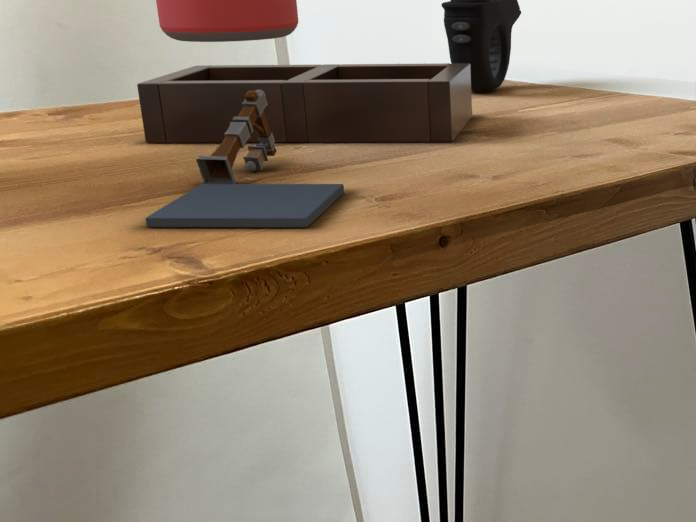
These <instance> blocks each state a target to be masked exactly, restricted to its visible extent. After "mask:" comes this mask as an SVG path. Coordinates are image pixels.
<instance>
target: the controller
mask: <svg viewBox="0 0 696 522" xmlns="http://www.w3.org/2000/svg"><path fill="white" fill-rule="evenodd" d="M440 6H441V8H442V9H443V10H444V13H443V25H444V31H445V35H446V39H447V45H448V46H447V47H448V53H449V59H450V64H452V63H470V70H471V92H482V93H483V92H486V93H487V92H493V91H495V90H497V89H498V88H500V87H501V86H502V84H503V83H504V81H505V79H506V76H507V73H508V70H509V66H510V59H511V58H510V57H511V53H512V31H513V26H514V24H516V22H517V21H518V19H519V18H520V16H521V15H522V10H521V7H520V3H519V1H518V0H449V1H445V2H441V5H440Z"/></svg>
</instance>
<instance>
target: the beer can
mask: <svg viewBox="0 0 696 522" xmlns="http://www.w3.org/2000/svg"><path fill="white" fill-rule="evenodd" d="M155 3H156V9H157V17H158V25H159V27H160V29H161V31H162V32H163V33H164V34H165V36H167V37H169V38H170V39H171V40H175V41H179V42H191V43H223V42H227V43H228V42H246V41H247V42H248V41H263V40H273V39H280V38H284V37H287V36H289V35H291V34H293V32H294V31H295V30H296V29H297V28H298V25H299V12H298V4H297V3H298V2H297V0H155Z"/></svg>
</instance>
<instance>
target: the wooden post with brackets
mask: <svg viewBox="0 0 696 522" xmlns="http://www.w3.org/2000/svg"><path fill="white" fill-rule="evenodd" d="M245 98H246V99H245V100H244V102H243V103H242V106H243V109H242V110H241V112H240V114H239V115H238V117H234V118H233V119H232V121H233V122H230V126H229V128H228V130H227V131H226V132H225V133H224V136H225V139H224V140H223V142H222V143H219V145H218V146H217V147H216V148H215V150H214V151H213V152H212V153H211V154H210V155H198V158H195V161H196V164H197V167H198V170H199V173H200V176H201V178H202V180H203V184H236V182H237V180H236V178H235V175H234V172H233V169H234V165H235V162H236V159H237V156H238V153H239V152H240V150H241V149H245V145H246V141H247V140H248V138H250V137H251V136H250V134H252V132H253V131H254V130H253V129H255V130H256V131H257V132H258V135H259V136H258V140H259V142H258V144H255V145H247V149H248V152H247V154H246V155H244V156H243V157H242V158H243V161H244V164H245V169H246V171H248V172H251V173H252V172H254V171H263V164H264V163H265V162H269V157H275V155H276V153H277V152H278V150H277V148H276V144H275V143H276V142H275V140H274V137H273V134H272V132H270V130H269V127H268V124H267V121H266V118H265V115H264V112H263V110H264V109H265V107H266V106H267V105H268V104H267V101H266V98H265V93H264V91H262V90H256V91H248V92H247V93H246V95H245Z"/></svg>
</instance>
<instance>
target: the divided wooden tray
mask: <svg viewBox="0 0 696 522" xmlns="http://www.w3.org/2000/svg"><path fill="white" fill-rule="evenodd" d="M136 86H137V87H136V88H137V93H138V100H139V106H140V107H139V108H140V113H141V119H142V125H143V133H144V140H145V143H146V144H166V143H168V144H187V143H188V144H189V143H190V144H191V143H192V144H196V143H198V144H203V143H204V144H210V143H211V144H213V143H214V144H215V143H216V144H217V143H219V144H221V143H222V142H223V140H224V139H225V136H224V133H225V132H226V131H227V130H228V128H229V126H230V122H233V121H232V119H233V118H234V117H238V115H239V114H240V112H241V110H242V109H243V106H242V103H243V102H244V100H245V99H246V98H245V95H246V93H247V92H248V91H256V90H262V91H264V93H265V98H266V101H267V104H268V105H267V106H266V107H265V109H264V110H263V112H264V115H265V118H266V121H267V124H268V127H269V130H270V132H272V134H273V137H274V140H275V142H274V143H430V142H431V143H437V142H438V143H451V142H453V141H454V140H455V139H456V137H457V136H458V135H459V134H460V132H461V131H462V130H463V129H464V127H465V126H466V125H467V123H469V121H470V120H471V118H472V117H473V99H472V98H473V97H472V91H471V70H470V63H452V64H451V62H448V63H447V62H446V63H445V62H444V63H346V64H345V63H342V64H339V63H337V64H336V63H335V64H333V63H332V64H331V63H330V64H325V63H324V64H225V65H223V64H222V65H221V64H218V65H212V64H211V65H193V66H190V67H187V68H183V69H180V70H177V71H174V72H171V73H168V74H164V75H162V76H157V77H153V78H151V79H148V80H145V81H141V82H139V83H137V84H136ZM253 130H254V131H253V132H252V134H250V136H251V137H250V138H248V140H247V141H246V143H247V144H248V143H259V140H258V136H259V135H258V132H257V131H256V130H255V129H253ZM246 143H245V144H246Z"/></svg>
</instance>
